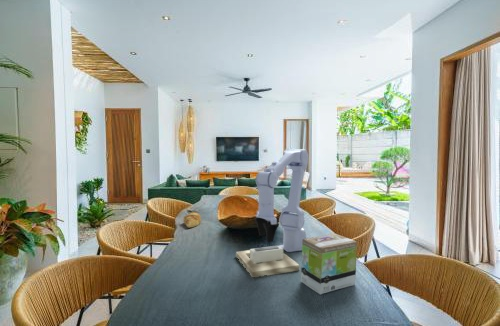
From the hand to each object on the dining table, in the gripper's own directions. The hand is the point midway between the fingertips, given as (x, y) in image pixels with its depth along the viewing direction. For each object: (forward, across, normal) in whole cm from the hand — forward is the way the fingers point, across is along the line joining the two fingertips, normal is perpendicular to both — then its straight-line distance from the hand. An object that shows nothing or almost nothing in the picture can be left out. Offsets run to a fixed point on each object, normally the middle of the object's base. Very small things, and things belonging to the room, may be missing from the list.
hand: (266, 238), depth 108 cm
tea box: (+10, +22, +13) cm, 27 cm away
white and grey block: (+10, +1, 0) cm, 10 cm away
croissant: (+10, -67, -18) cm, 71 cm away
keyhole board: (+10, -1, 0) cm, 10 cm away
